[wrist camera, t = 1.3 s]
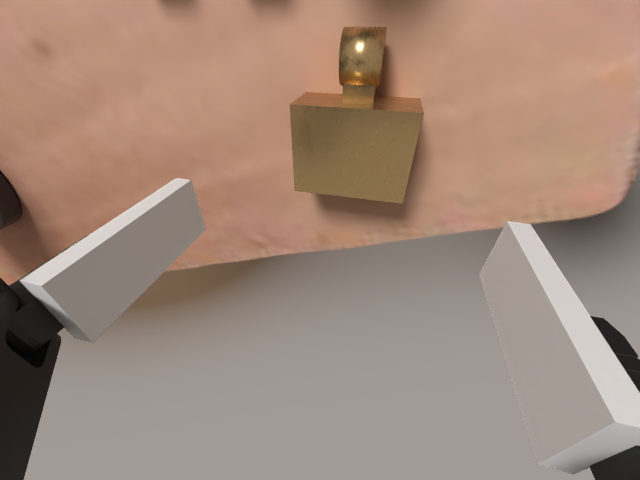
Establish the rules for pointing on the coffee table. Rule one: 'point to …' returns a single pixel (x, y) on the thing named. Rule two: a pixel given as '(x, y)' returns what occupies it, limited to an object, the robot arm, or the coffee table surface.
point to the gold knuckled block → (355, 129)
